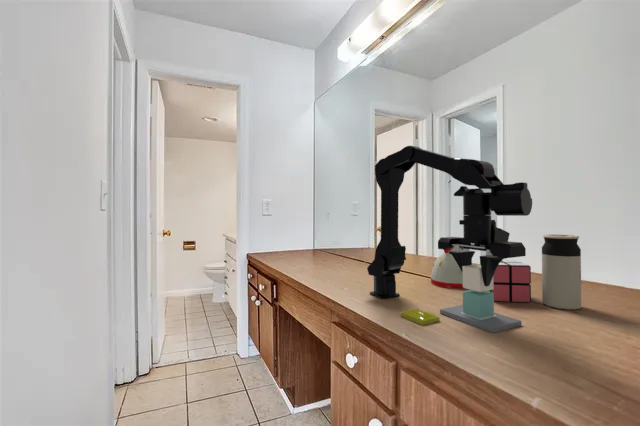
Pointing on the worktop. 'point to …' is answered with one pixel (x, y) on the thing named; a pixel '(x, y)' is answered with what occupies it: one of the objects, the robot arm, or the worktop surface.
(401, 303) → the worktop surface
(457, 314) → the slate plate
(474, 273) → the cream block
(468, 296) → the teal block
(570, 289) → the travel mug
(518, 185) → the robot arm
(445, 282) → the kitchen timer
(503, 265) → the puzzle cube
